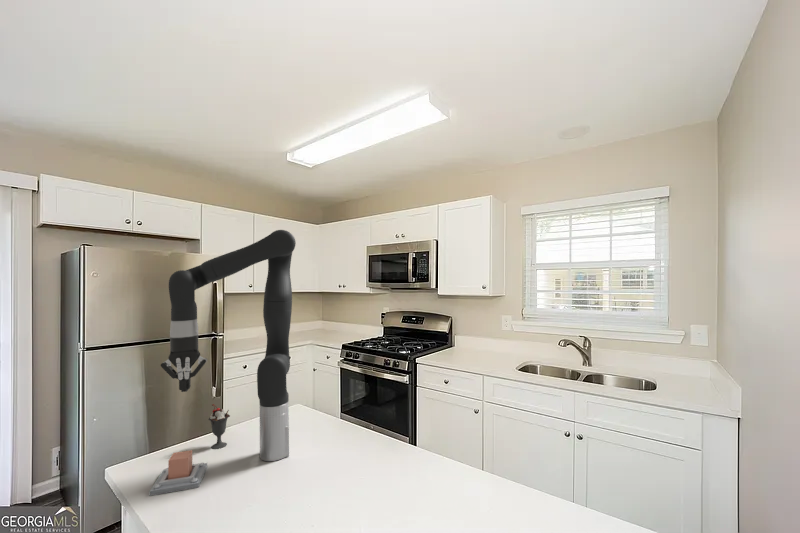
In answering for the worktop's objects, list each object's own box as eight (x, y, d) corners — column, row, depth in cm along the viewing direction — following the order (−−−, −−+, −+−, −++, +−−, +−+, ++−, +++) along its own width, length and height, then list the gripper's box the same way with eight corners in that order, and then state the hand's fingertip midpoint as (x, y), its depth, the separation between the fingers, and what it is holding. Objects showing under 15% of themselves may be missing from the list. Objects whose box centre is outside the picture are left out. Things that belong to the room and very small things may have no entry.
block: (192, 470, 110) (192, 450, 110) (188, 478, 105) (188, 457, 106) (173, 473, 109) (173, 452, 109) (168, 482, 104) (168, 460, 104)
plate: (207, 466, 114) (207, 459, 115) (198, 487, 103) (198, 479, 103) (163, 473, 111) (163, 466, 111) (149, 495, 99) (149, 487, 99)
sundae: (203, 448, 127) (203, 405, 128) (219, 440, 133) (219, 399, 134) (217, 451, 125) (217, 407, 125) (233, 443, 131) (233, 401, 131)
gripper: (210, 331, 119) (210, 385, 118) (163, 334, 115) (163, 390, 114) (205, 334, 112) (206, 391, 111) (155, 338, 107) (156, 397, 107)
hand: (184, 391), depth 112 cm, fingers closed
